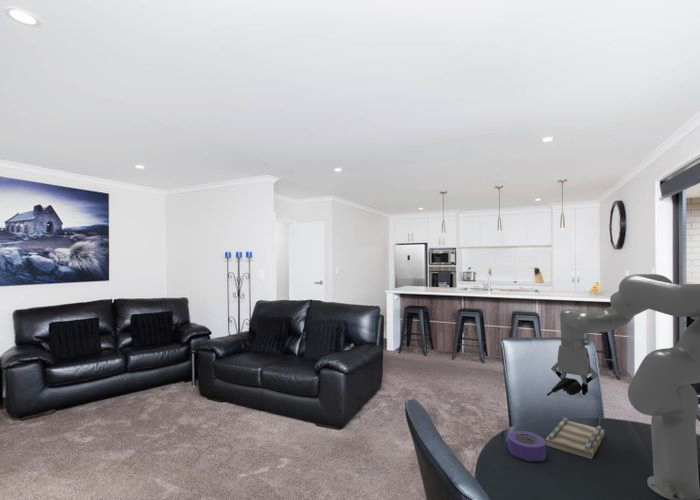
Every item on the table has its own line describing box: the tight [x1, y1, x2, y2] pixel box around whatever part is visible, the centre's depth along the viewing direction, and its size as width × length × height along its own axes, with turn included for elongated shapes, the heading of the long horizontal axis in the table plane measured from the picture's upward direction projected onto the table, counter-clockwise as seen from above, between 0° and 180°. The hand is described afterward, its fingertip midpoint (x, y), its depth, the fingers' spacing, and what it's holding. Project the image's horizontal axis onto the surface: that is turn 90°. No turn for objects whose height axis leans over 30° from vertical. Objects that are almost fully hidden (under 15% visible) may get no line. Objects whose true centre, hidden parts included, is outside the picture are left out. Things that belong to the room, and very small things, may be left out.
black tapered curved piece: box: [546, 377, 583, 399], centre depth 132 cm, size 6×8×12 cm
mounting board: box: [544, 417, 606, 460], centre depth 133 cm, size 24×14×3 cm, turn 136°
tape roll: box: [507, 430, 547, 462], centre depth 124 cm, size 12×12×5 cm
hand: (574, 391), depth 134 cm, fingers closed on black tapered curved piece, 5 cm apart
